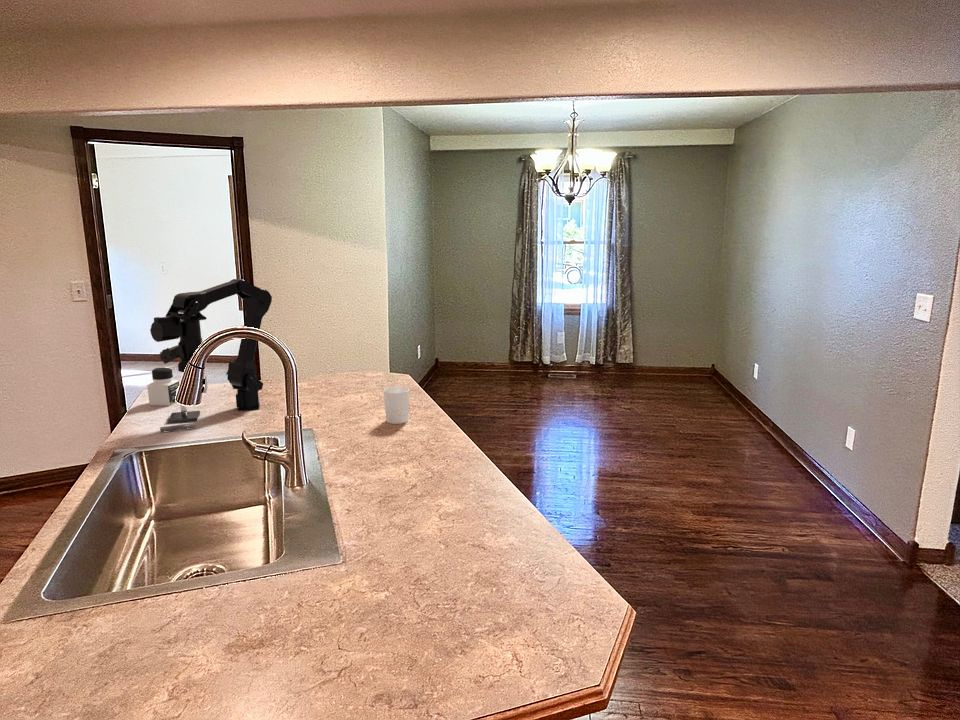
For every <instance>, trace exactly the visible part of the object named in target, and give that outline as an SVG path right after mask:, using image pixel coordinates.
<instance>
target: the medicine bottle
mask: <svg viewBox="0 0 960 720" xmlns="http://www.w3.org/2000/svg"><path fill="white" fill-rule="evenodd" d="M151 376H152V381H153V382H151V383H149V384H147V385H146V386H147V393H148V396H147V397H148V402H149V406H155V407H156V406H159V407H160V406H161V407H162V406H167V407H168V406H169V407H171V406H172V405H174V404H176V403H177V402H175V396H176V389H177V388H178V386H180V380H179V379H174V374H173V368H171V367H168V366H162V367H161V366H160V367H155V368H153V369H152V370H151Z"/></svg>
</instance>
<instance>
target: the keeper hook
mask: <svg viewBox="0 0 960 720" xmlns="http://www.w3.org/2000/svg"><path fill="white" fill-rule="evenodd" d="M179 406H180V411H179V412H178V411H177V412H176V411H175V412H171V414H170V416H169V418H168V419H167V424H176V423H178V422H180V423H187V422H186V421H192V422H198V420H199V418H198V417H200V415H201V410H189V411H187V405H186V406H182V405H179ZM197 419H198V420H197Z"/></svg>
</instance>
